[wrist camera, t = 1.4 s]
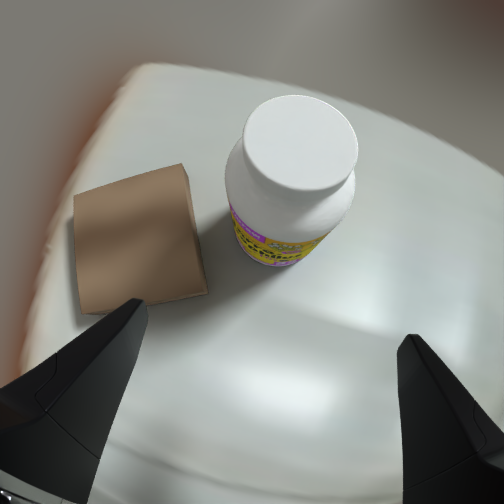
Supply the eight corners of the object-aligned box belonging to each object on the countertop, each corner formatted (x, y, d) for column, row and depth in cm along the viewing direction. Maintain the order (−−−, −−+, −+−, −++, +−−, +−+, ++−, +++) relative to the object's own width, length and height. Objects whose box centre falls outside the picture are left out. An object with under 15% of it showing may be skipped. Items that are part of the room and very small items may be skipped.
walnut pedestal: (208, 293, 22) (203, 291, 20) (96, 314, 22) (81, 314, 19) (188, 176, 24) (181, 163, 22) (87, 205, 24) (73, 195, 21)
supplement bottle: (219, 243, 23) (181, 166, 10) (258, 175, 24) (262, 61, 12) (296, 283, 22) (347, 249, 10) (331, 211, 24) (396, 120, 11)
